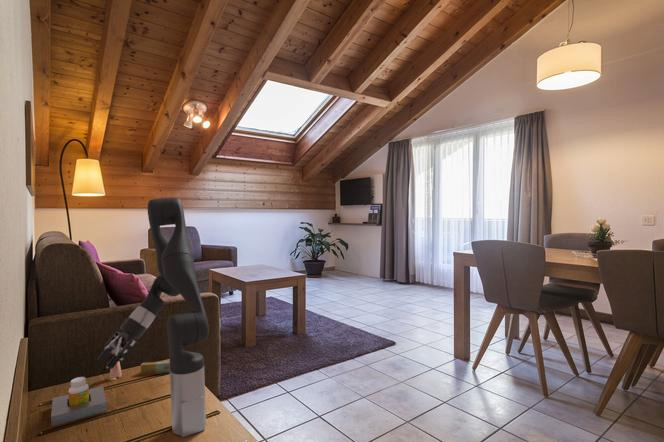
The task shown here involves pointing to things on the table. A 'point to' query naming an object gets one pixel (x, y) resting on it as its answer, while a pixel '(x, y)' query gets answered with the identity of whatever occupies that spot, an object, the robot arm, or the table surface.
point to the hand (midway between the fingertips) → (104, 364)
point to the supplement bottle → (78, 391)
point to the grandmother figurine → (116, 370)
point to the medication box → (155, 367)
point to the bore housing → (78, 407)
